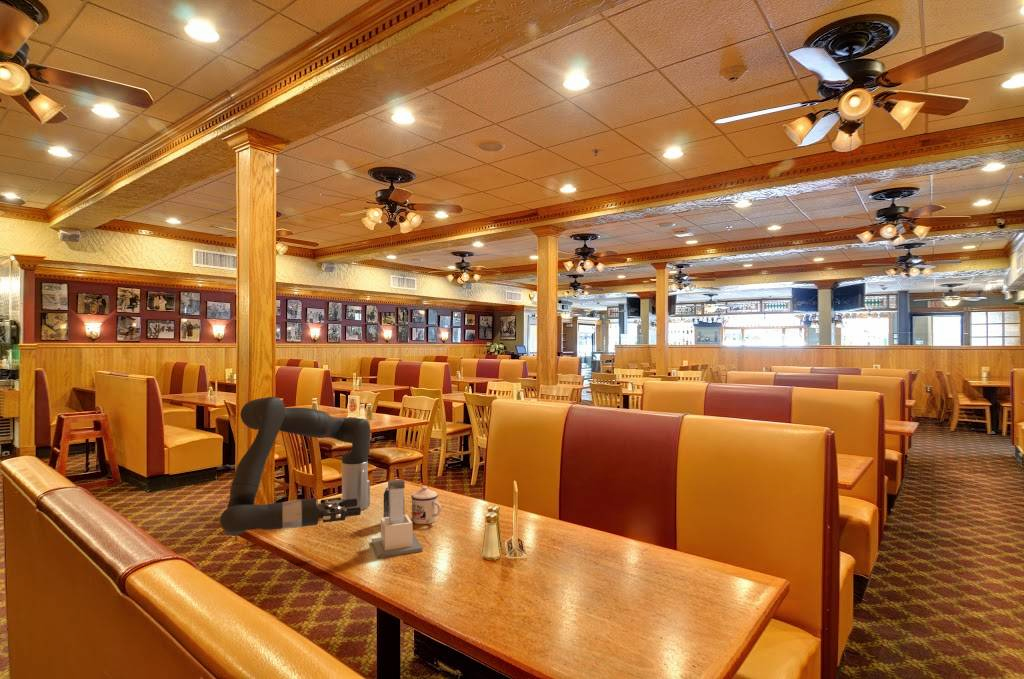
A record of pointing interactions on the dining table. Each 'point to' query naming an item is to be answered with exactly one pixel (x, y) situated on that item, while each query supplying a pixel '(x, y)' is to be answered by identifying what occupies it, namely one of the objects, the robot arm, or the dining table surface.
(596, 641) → the dining table surface
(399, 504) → the white grey rectangular bar
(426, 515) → the teacup with lid
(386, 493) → the soda can
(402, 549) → the white square socket
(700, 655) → the dining table surface
